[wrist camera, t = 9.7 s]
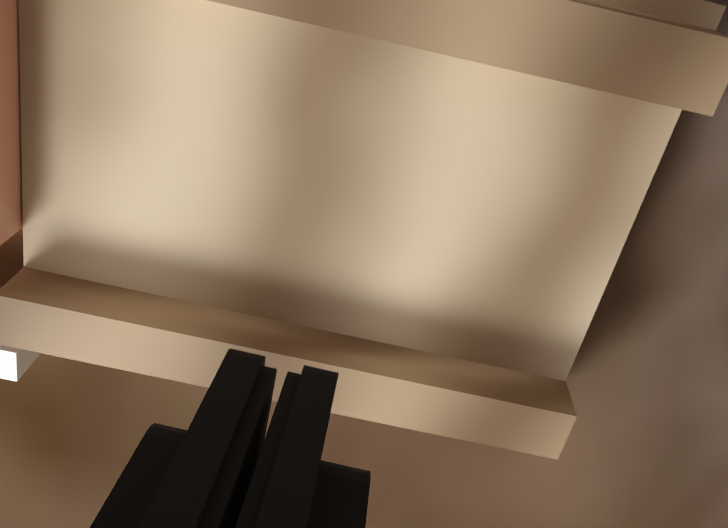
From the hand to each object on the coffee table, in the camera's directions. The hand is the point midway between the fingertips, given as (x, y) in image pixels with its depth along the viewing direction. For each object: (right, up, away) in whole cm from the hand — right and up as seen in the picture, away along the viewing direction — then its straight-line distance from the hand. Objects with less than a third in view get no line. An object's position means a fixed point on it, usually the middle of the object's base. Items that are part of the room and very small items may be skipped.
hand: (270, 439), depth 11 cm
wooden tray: (+1, +5, +8) cm, 10 cm away
